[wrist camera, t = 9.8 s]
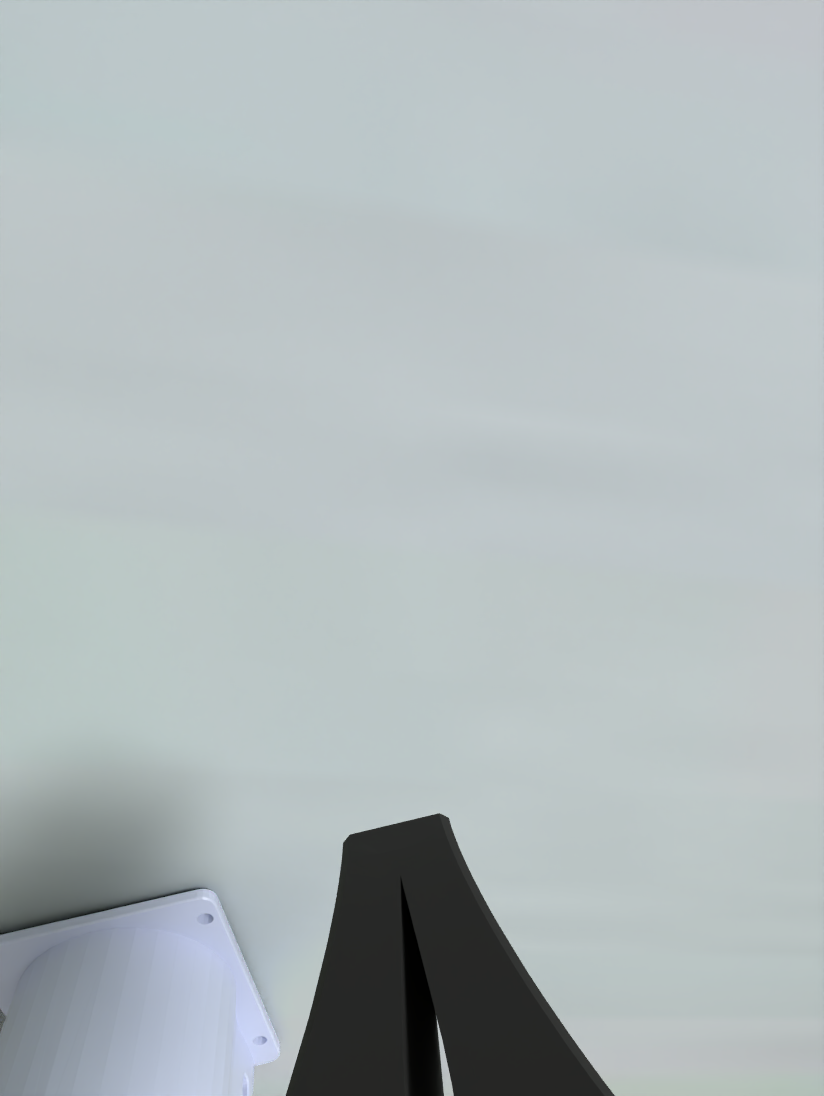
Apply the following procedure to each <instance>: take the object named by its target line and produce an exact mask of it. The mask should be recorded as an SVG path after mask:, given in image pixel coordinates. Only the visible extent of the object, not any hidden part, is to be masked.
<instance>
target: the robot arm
mask: <svg viewBox="0 0 824 1096" xmlns="http://www.w3.org/2000/svg"><path fill="white" fill-rule="evenodd" d="M205 913H208V914H205ZM0 1009H1V1011H2V1012H3V1013H4V1015H5V1016H6V1018H5V1021H4V1024H3V1026H2V1029H1V1032H0V1096H253V1082H254V1066H257V1065H261V1064H265V1063H269V1062H272V1061H274V1060H275V1059H277V1058H278V1057H279V1055H280V1042H279V1040H278V1037H277V1035H276V1033H275V1030H274V1028H273V1026H272V1023H271V1021H270V1018H269V1016H268V1014H267V1011H266V1009H265V1007H264V1004H263V1002H262V1000H261V997H260V995H259V993H258V990H257V988H256V986H255V983H254V981H253V979H252V976H251V974H250V972H249V969H248V967H247V965H246V962H245V960H244V958H243V955H242V953H241V951H240V948H239V946H238V944H237V941H236V939H235V937H234V934H233V932H232V930H231V927H230V925H229V922H228V920H227V918H226V915H225V913H224V911H223V908H222V906H221V904H220V901H219V899H218V897H217V895H216V894H215V893H214V892H213V891H211V890H208V889H197V890H193V891H188V892H184V893H180V894H175V895H171V896H167V897H162V898H158V899H154V900H149V901H145V902H141V903H136V904H132V905H128V906H123V907H119V908H115V909H110V910H106V911H102V912H97V913H93V914H89V915H84V916H80V917H76V918H71V919H67V920H63V921H58V922H54V923H50V924H45V925H41V926H37V927H32V928H28V929H24V930H19V931H15V932H11V933H6V934H2V935H0ZM436 1016H437V1019H436ZM437 1020H438V1024H439V1028H440V1032H441V1036H442V1040H443V1044H444V1049H445V1053H446V1058H447V1063H448V1068H449V1072H450V1077H451V1082H452V1087H453V1093H454V1096H614V1094H613V1093H612V1092H611V1090H610V1089H609V1088H608V1086H607V1085H606V1084H605V1083H604V1081H603V1080H602V1079H601V1077H600V1076H599V1074H598V1073H597V1072H596V1070H595V1069H594V1068H593V1066H592V1065H591V1064H590V1062H589V1061H588V1060H587V1058H586V1057H585V1055H584V1054H583V1053H582V1051H581V1050H580V1048H579V1047H578V1046H577V1044H576V1043H575V1041H574V1040H573V1039H572V1037H571V1036H570V1034H569V1033H568V1032H567V1030H566V1029H565V1027H564V1026H563V1024H562V1023H561V1021H560V1020H559V1018H558V1017H557V1016H556V1014H555V1013H554V1011H553V1010H552V1008H551V1007H550V1005H549V1004H548V1003H547V1001H546V1000H545V998H544V997H543V995H542V994H541V992H540V991H539V989H538V988H537V986H536V984H535V983H534V981H533V980H532V978H531V977H530V975H529V974H528V972H527V971H526V969H525V967H524V966H523V964H522V963H521V961H520V959H519V958H518V956H517V954H516V953H515V951H514V949H513V948H512V946H511V945H510V943H509V941H508V940H507V938H506V936H505V935H504V933H503V931H502V930H501V928H500V926H499V925H498V923H497V921H496V920H495V918H494V916H493V914H492V913H491V911H490V909H489V907H488V905H487V904H486V902H485V900H484V898H483V896H482V894H481V892H480V890H479V888H478V887H477V885H476V883H475V881H474V879H473V877H472V875H471V873H470V871H469V869H468V867H467V864H466V862H465V860H464V858H463V856H462V853H461V851H460V849H459V846H458V844H457V841H456V839H455V836H454V833H453V831H452V828H451V824H450V821H449V818H448V817H446V816H444V815H442V814H440V813H439V814H435V815H430V816H426V817H422V818H418V819H414V820H409V821H405V822H401V823H397V824H393V825H389V826H384V827H380V828H376V829H372V830H368V831H363V832H359V833H355V834H351V835H349V836H348V838H347V839H346V840H345V841H344V843H343V853H342V864H341V871H340V878H339V885H338V891H337V897H336V903H335V908H334V913H333V918H332V923H331V928H330V933H329V938H328V943H327V947H326V951H325V955H324V959H323V963H322V968H321V972H320V976H319V980H318V984H317V988H316V992H315V996H314V1000H313V1004H312V1008H311V1012H310V1016H309V1019H308V1023H307V1026H306V1030H305V1033H304V1036H303V1040H302V1043H301V1046H300V1050H299V1053H298V1057H297V1060H296V1063H295V1067H294V1070H293V1073H292V1077H291V1080H290V1083H289V1087H288V1090H287V1093H286V1096H444V1093H443V1082H442V1071H441V1061H440V1050H439V1040H438V1029H437Z"/></svg>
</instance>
